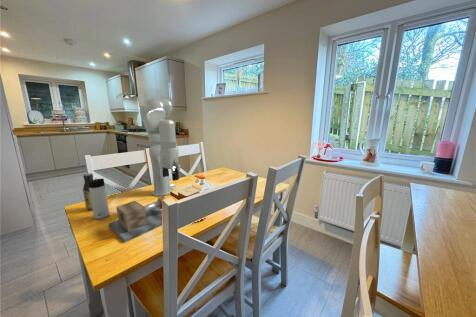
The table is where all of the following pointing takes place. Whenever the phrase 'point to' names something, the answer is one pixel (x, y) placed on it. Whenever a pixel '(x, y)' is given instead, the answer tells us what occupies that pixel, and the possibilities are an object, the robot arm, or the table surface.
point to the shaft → (154, 204)
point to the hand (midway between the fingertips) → (170, 178)
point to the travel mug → (98, 199)
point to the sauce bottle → (87, 191)
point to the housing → (135, 220)
